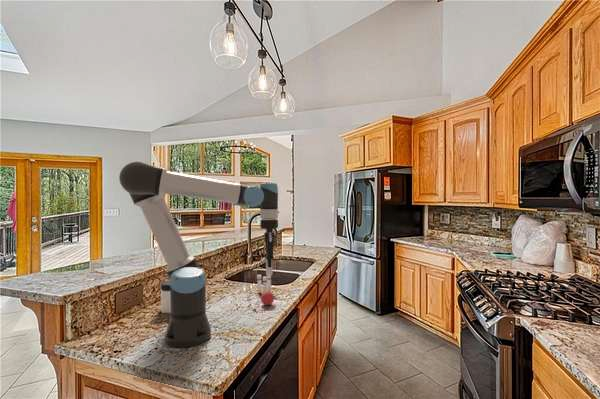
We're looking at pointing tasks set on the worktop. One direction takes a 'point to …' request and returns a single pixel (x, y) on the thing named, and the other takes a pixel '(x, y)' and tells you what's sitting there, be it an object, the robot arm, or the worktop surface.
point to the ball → (267, 298)
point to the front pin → (264, 284)
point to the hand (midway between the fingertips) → (269, 274)
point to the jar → (165, 297)
